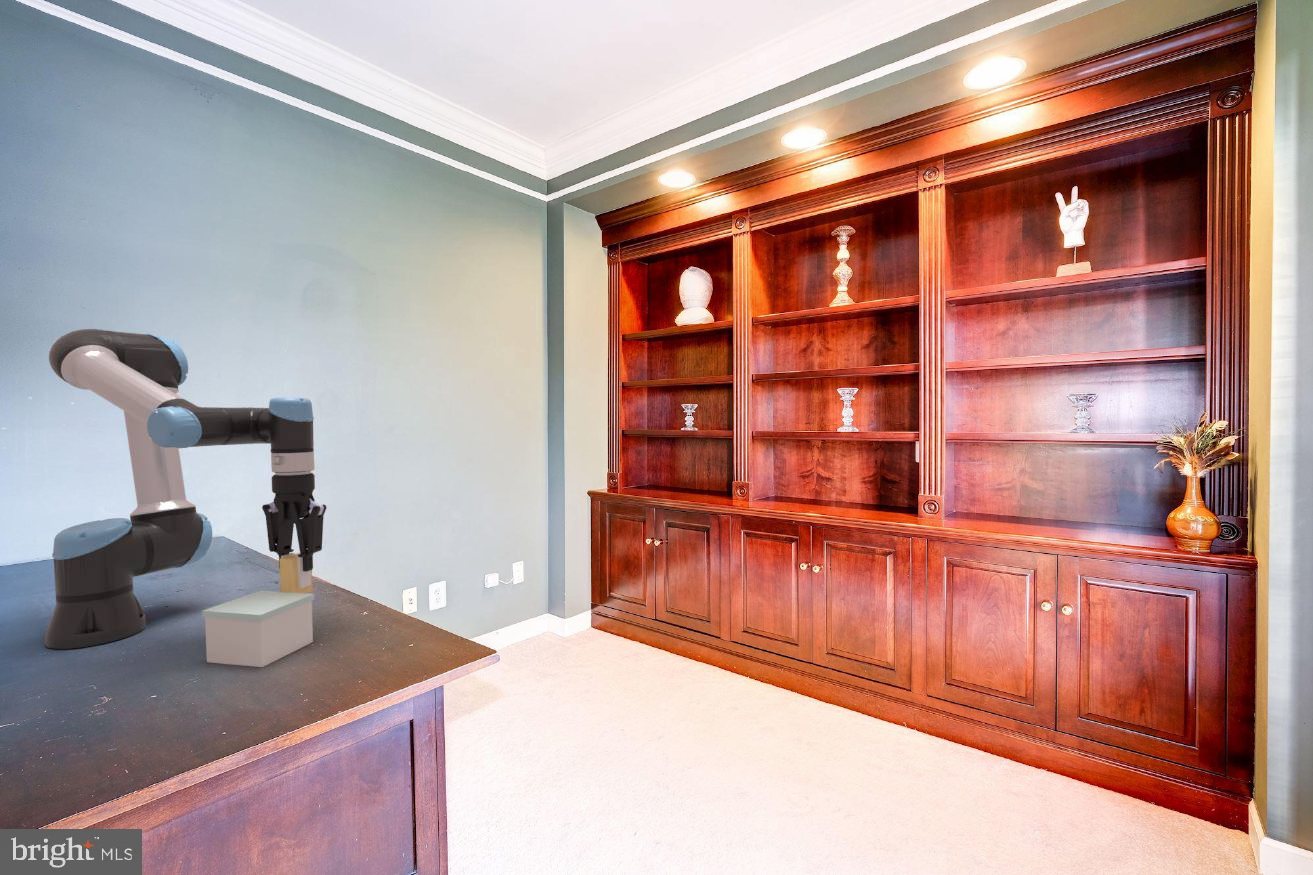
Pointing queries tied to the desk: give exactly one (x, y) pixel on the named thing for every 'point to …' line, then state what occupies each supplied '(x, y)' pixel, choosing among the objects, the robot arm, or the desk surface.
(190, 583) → the desk surface
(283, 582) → the lid
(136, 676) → the desk surface
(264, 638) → the tub
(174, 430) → the robot arm
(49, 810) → the desk surface
